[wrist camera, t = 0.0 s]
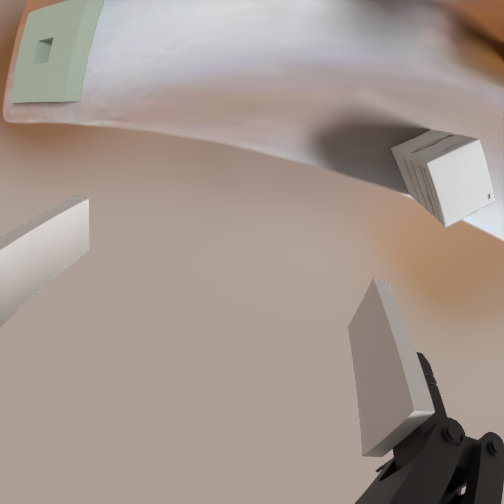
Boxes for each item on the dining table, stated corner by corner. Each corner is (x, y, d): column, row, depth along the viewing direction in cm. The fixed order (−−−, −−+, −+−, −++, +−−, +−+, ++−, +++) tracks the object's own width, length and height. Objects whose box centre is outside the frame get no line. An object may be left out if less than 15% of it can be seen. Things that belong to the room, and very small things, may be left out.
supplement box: (431, 127, 31) (481, 136, 20) (448, 176, 33) (497, 203, 22) (387, 146, 34) (425, 161, 22) (407, 196, 36) (446, 230, 25)
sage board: (43, 14, 28) (29, 12, 25) (104, 0, 28) (89, -5, 24) (25, 101, 37) (10, 103, 33) (80, 100, 36) (63, 101, 33)
